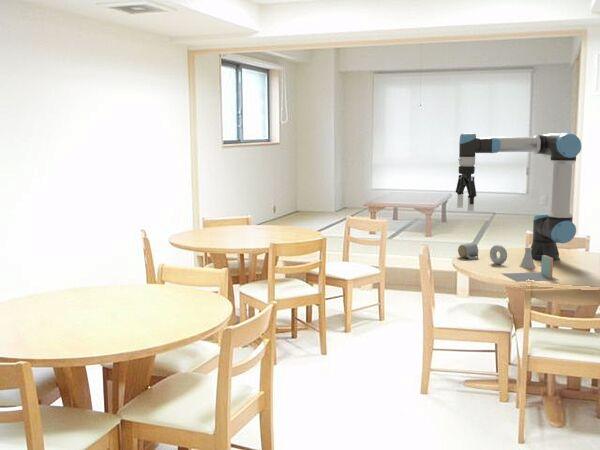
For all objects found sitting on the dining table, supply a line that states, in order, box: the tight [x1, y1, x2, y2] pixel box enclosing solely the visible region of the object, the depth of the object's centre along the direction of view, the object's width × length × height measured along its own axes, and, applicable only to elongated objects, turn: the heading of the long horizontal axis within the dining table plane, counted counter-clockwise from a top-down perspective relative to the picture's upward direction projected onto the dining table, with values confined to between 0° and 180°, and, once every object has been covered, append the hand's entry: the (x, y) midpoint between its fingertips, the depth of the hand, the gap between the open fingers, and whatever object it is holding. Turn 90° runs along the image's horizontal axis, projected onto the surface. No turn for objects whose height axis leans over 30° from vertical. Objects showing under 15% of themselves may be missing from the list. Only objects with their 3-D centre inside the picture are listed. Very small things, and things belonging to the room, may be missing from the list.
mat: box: [501, 271, 559, 283], centre depth 289 cm, size 20×16×1 cm
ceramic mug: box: [457, 242, 479, 261], centre depth 336 cm, size 11×8×8 cm
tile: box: [540, 255, 554, 278], centre depth 290 cm, size 2×7×9 cm, turn 8°
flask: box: [518, 247, 536, 269], centre depth 310 cm, size 7×7×10 cm
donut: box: [489, 244, 508, 265], centre depth 319 cm, size 10×4×10 cm, turn 32°
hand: (465, 209), depth 313 cm, fingers open, 13 cm apart
